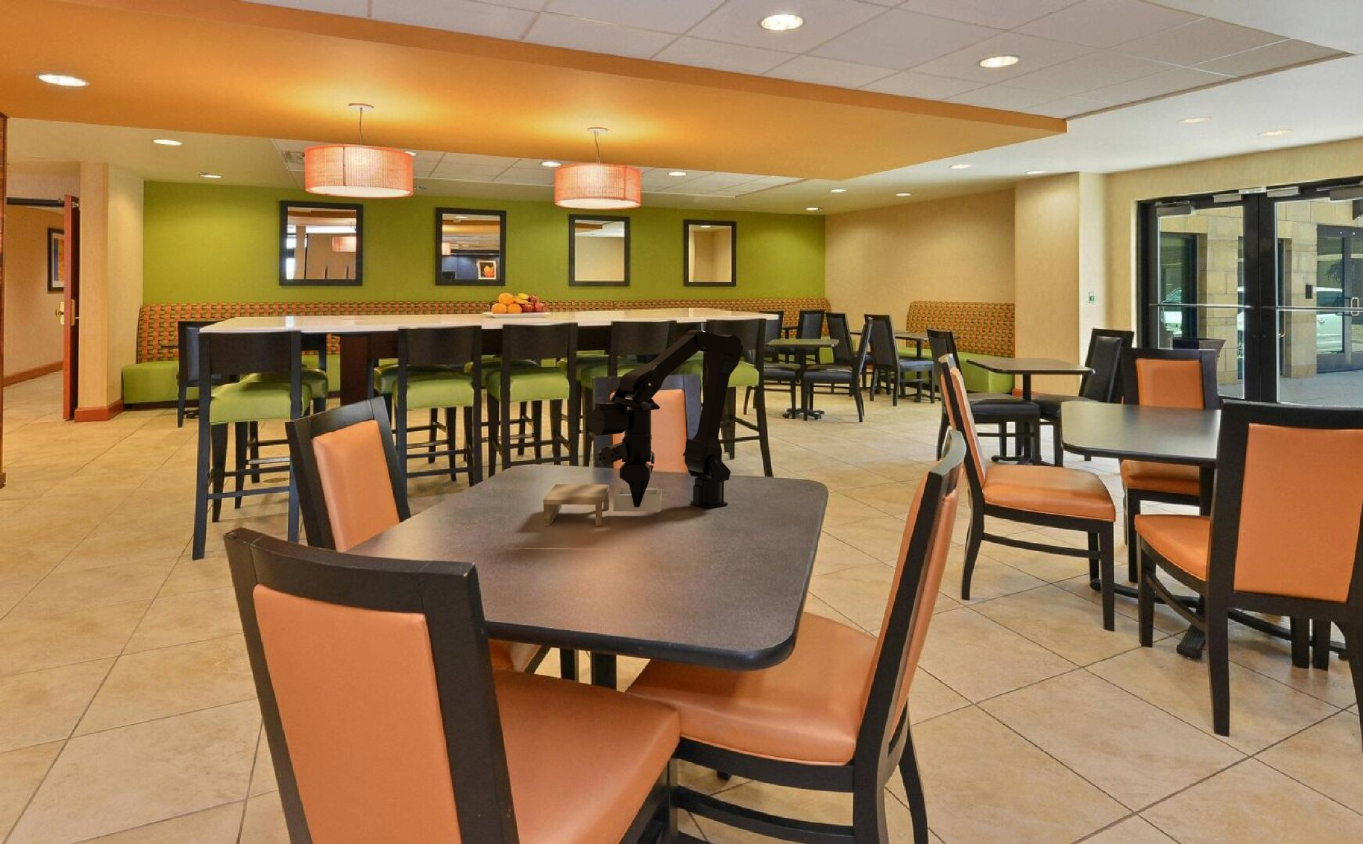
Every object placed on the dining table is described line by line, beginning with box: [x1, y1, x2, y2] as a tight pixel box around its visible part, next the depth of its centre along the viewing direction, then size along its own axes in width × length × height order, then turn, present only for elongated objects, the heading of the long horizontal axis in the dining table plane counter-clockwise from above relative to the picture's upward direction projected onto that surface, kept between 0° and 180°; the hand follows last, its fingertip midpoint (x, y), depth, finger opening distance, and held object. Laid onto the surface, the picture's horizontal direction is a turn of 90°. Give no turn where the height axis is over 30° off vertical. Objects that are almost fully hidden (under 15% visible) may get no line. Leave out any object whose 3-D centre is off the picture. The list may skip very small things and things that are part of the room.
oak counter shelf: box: [542, 483, 610, 527], centre depth 167 cm, size 12×14×6 cm
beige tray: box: [612, 487, 663, 513], centre depth 167 cm, size 10×6×4 cm, turn 89°
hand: (638, 502), depth 167 cm, fingers closed on beige tray, 6 cm apart
